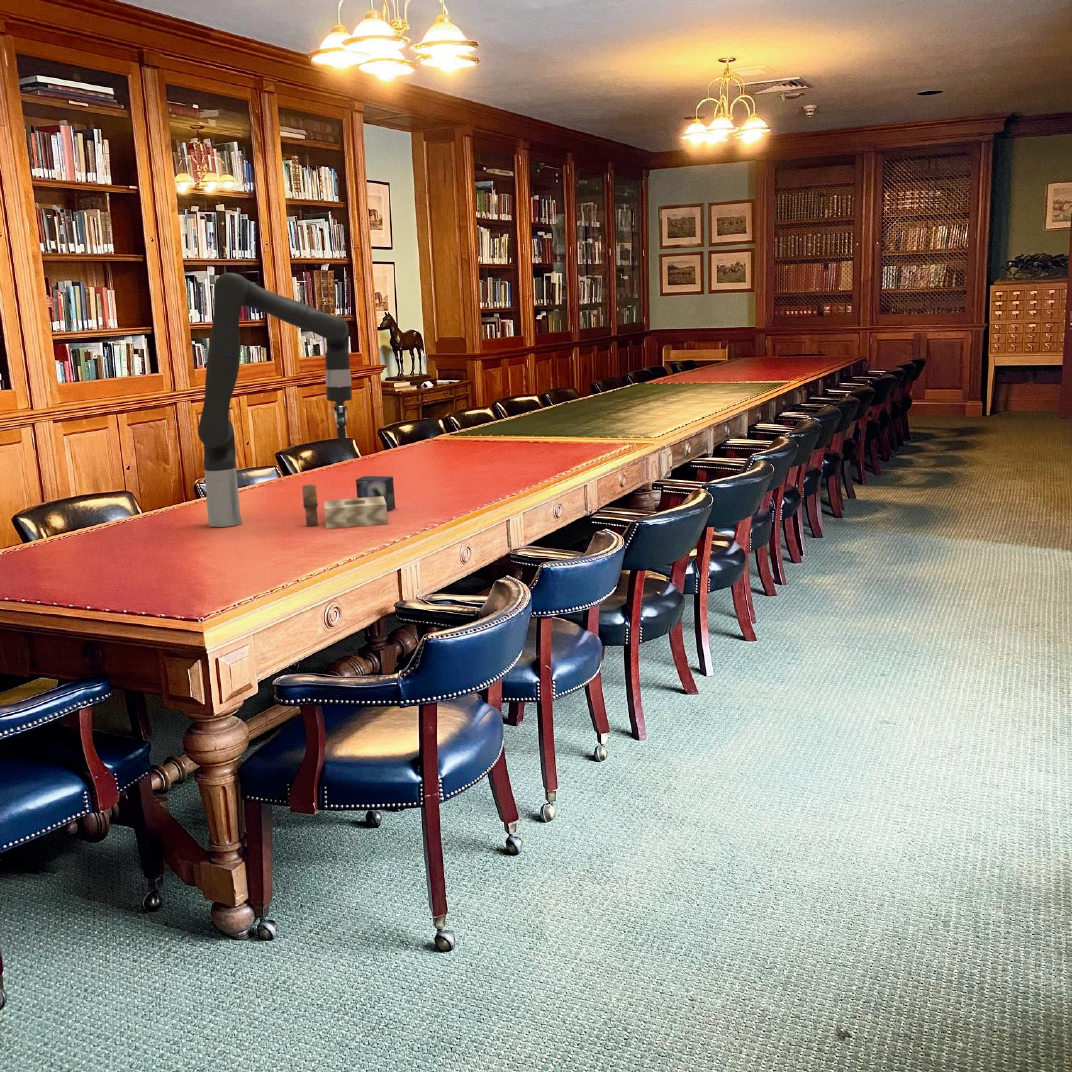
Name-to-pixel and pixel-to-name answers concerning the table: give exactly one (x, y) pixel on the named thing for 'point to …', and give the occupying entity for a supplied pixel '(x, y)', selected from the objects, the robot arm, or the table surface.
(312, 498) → the peg
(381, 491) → the small box
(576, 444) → the table surface
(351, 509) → the seat board
